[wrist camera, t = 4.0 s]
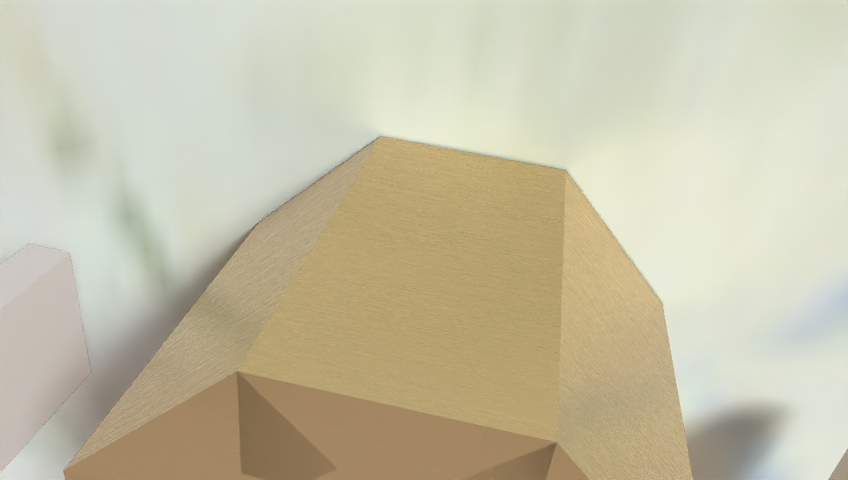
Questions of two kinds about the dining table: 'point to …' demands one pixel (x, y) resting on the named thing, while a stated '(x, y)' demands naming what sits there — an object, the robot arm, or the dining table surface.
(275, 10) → the dining table surface
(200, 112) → the dining table surface
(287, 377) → the ring
